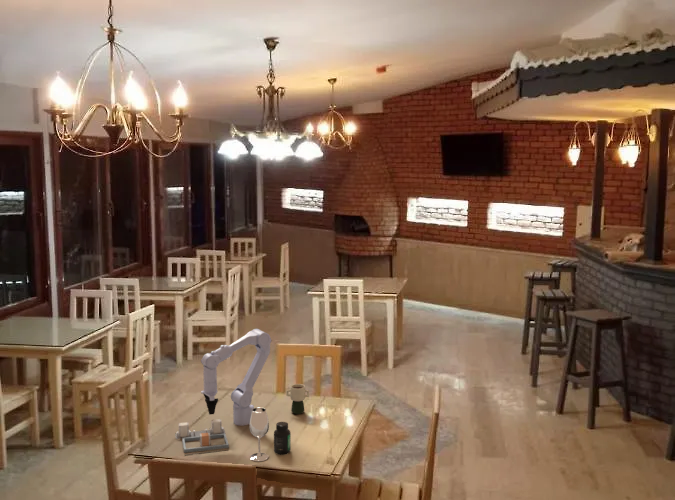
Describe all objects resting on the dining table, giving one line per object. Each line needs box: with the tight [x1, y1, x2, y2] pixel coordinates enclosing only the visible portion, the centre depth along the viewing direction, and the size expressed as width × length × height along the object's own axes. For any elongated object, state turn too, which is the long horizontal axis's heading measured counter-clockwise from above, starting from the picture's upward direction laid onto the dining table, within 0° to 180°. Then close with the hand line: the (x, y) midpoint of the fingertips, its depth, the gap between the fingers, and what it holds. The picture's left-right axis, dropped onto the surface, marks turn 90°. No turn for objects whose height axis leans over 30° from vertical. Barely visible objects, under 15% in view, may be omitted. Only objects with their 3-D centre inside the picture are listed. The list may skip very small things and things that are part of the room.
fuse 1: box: [178, 421, 190, 437], centre depth 289 cm, size 4×3×5 cm
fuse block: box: [174, 426, 227, 440], centre depth 292 cm, size 21×6×3 cm, turn 106°
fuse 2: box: [211, 418, 223, 434], centre depth 293 cm, size 4×3×5 cm
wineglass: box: [248, 406, 270, 462], centre depth 270 cm, size 8×8×20 cm
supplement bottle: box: [273, 421, 292, 456], centre depth 276 cm, size 7×7×12 cm
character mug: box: [285, 383, 310, 415], centre depth 319 cm, size 11×7×13 cm, turn 87°
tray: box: [181, 434, 230, 456], centre depth 281 cm, size 18×12×2 cm, turn 106°
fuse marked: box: [199, 433, 211, 447], centre depth 280 cm, size 4×3×5 cm
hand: (210, 410), depth 296 cm, fingers open, 7 cm apart
